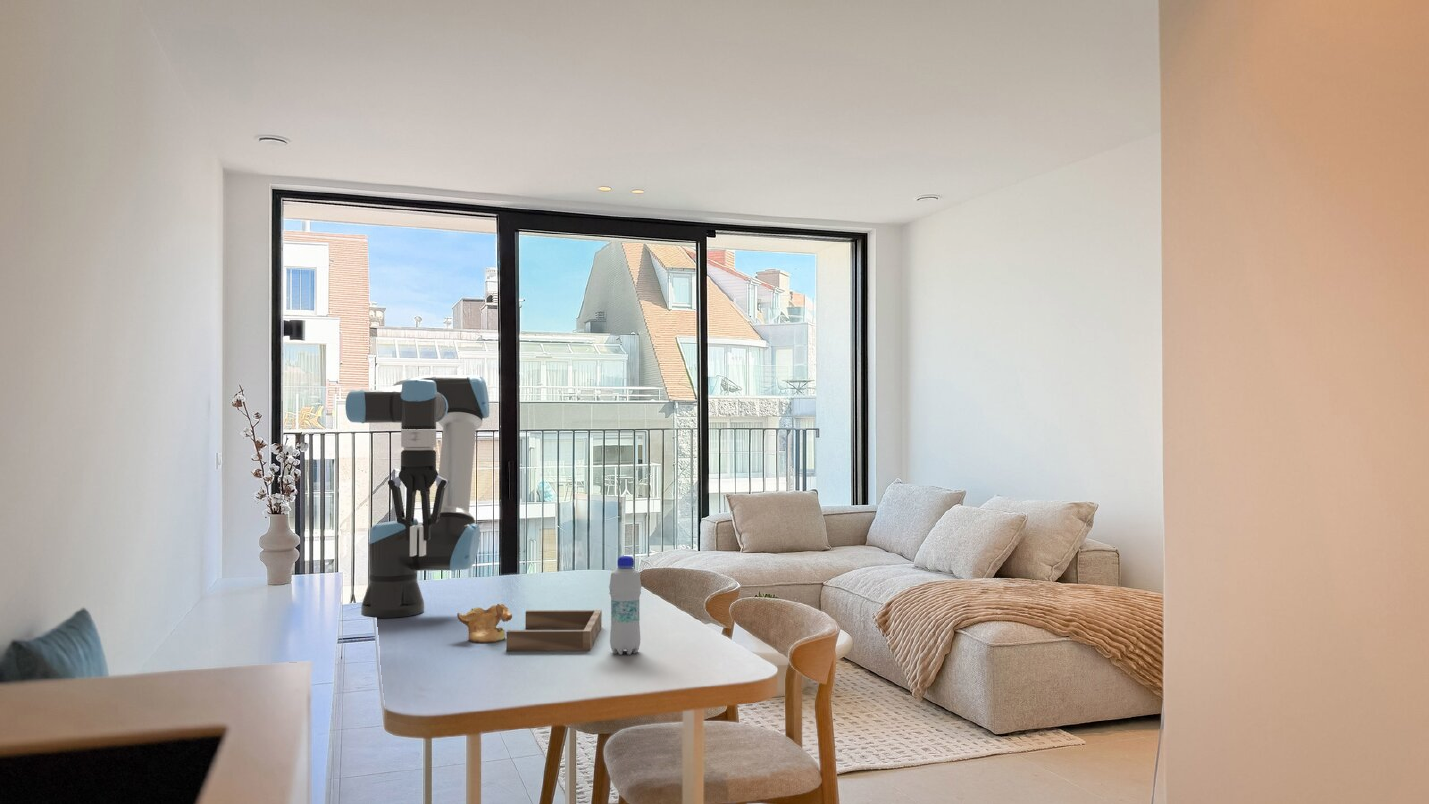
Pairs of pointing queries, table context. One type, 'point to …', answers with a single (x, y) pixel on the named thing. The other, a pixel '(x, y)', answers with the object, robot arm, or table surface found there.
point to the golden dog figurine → (485, 623)
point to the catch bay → (556, 631)
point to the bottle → (625, 607)
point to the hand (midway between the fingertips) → (417, 555)
